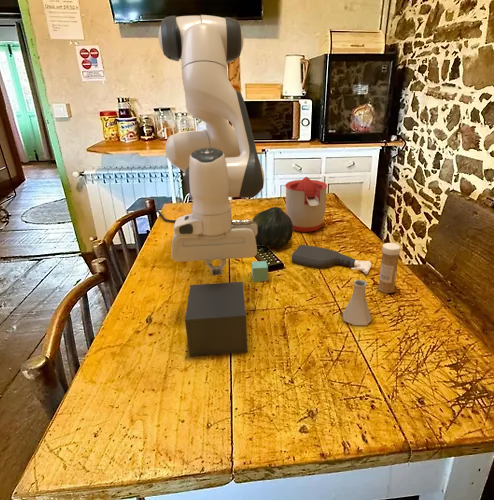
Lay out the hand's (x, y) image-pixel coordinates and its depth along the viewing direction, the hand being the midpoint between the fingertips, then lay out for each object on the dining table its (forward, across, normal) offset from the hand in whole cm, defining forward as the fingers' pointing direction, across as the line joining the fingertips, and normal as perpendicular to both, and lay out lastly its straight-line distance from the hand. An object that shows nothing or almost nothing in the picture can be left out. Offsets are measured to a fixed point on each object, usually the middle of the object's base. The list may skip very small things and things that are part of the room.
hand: (216, 274), depth 97 cm
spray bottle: (+11, -35, -22) cm, 43 cm away
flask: (+11, -34, +8) cm, 36 cm away
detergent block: (+10, -12, -16) cm, 23 cm away
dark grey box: (+11, 0, +10) cm, 15 cm away
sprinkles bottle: (+11, -46, -5) cm, 48 cm away
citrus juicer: (+10, -33, -54) cm, 64 cm away
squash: (+10, -18, -40) cm, 45 cm away
